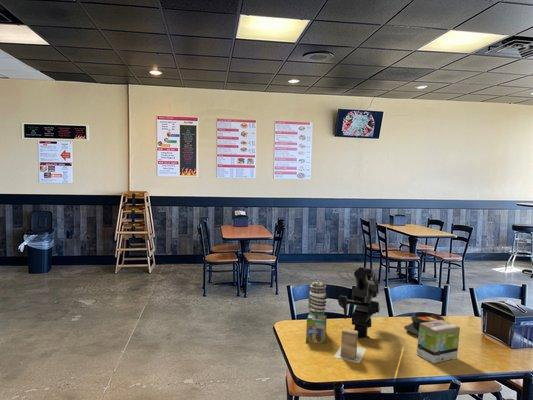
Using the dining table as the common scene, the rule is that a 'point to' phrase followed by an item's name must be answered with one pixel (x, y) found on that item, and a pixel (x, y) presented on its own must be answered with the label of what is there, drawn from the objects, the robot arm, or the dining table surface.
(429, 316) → the casserole
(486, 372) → the dining table surface
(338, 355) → the board
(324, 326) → the chalk box
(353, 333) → the block
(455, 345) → the tea box
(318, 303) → the leaning tower model
